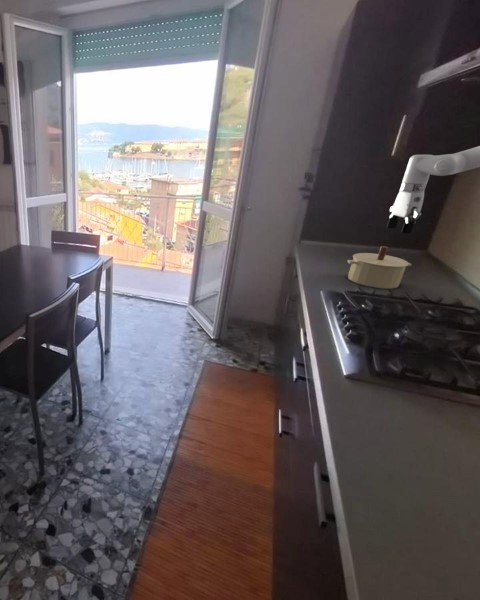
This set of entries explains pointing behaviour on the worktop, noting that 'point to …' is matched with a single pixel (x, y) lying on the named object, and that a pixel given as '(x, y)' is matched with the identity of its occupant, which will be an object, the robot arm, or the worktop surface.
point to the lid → (381, 259)
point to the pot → (375, 275)
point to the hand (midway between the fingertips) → (398, 230)
